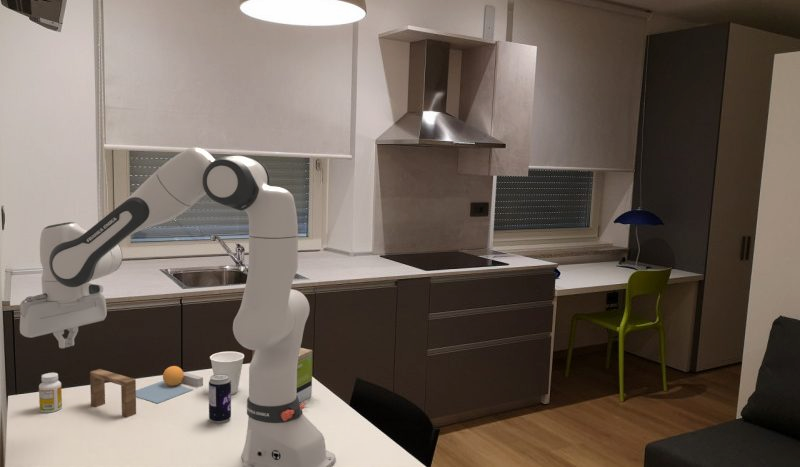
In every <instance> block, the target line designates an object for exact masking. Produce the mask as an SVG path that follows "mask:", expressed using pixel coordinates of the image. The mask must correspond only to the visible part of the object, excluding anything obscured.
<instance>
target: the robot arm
mask: <svg viewBox="0 0 800 467" xmlns="http://www.w3.org/2000/svg"><path fill="white" fill-rule="evenodd" d="M270 183H271V176H270V173H269V171H268V169H267V167H266V166H265V164H263V163H262V162H261V161H260V160H258V159H256V158H253V157H249V156H247V157H246V156H243V155H229V156H228V155H227V156H220V157H217V158H214V157H213V155H212V154H211V153H210V152H208V151H207V150H205V149H203V148H201V147H198V146H197V147H196V146H194V147H188V148H186V149H184V150H182V152H180V153H177V155H175V156H173V157H172V158H171V159H169V160H168V161H166V162H165V163H164V164H163V165H162V166H160V167H159V168H158V169H157V170H156V171H155V172H153V173H152V174H151V175H150V176H149V177H148V178H147V179H146V180H145V181H144V182H143V183H142V184H141V185H140V186H139V187H137V189H136V190H135V191H134V192H132V194H130V195H129V196H128V197H127V198H126V199H125V200H124V201H123V202H122V203H121V204H120V205H119V206H117V207H116V208H114V209H113V210H112V211H111V212H109V213H108V214H107V215H106V216H104V217H103V218H102V219H100V220H99V221H98V222H97V223H95V225H93V226H92V227H90V228H89V229H88V230H86V229H84V228H83V227H81V226H80V225H79V223H76V222H73V221H69V222H63V223H56V224H51V225H47V226H45V227H44V228H43V229H42V230H41V233H40V238H39V259H40V264H41V267H42V276H41V290H42V291H41V292H42V293H41V294H36V295H31V296H27V297H25V299H23V300H22V301H21V302H20V305H19V312H20V318H19V333H20V335H22V336H23V337H24V338H25V337H26V338H31V339H32V338H36V337H40V336H45V335H48V334H53V336H54V338H56V341H58V347H59V349H65V348H69V347H73V346H75V338H76V336H77V334H78V332H79V327H82V326H85V325H90V324H95V323H98V322H102V321H105V319H106V318H107V314H108V312H107V311H108V310H107V302H106V297H105V295H104V294H102V293H103V292H104V285H103V284H101V283H96V282H91V281H94V280H97V279H100V278H104V277H106V276H108V275H111V274H113V273H115V272H116V271H117V270H118V269H120V267H121V264H122V263H123V262H122V261H123V252H122V251H123V250H122V248H121V246H120V244H121V243H122V242H123V241H125V239H127V238H128V237H130V236H131V235H134V234H135V233H137V232H140V231H142V230H146V229H149V228H151V227H155V226H158V225H161V224H165V223H167V222H170V221H172V220H173V219H176V218H177V217H179V216H180V215H182V214H183V213H185V212H186V211H187V210H189V209H190V208H192V206H194V204H195V203H197V202H198V201H199V200H201V198H202V197H204V196H205V195H207V196H208V198H210V199H211V200H212V201H214V202H215V203H218V204H220V205H222V206H225V207H229V208H232V209H233V210H234V209H235V210H237V211H241V212H243V211H245V212H246V214H247V217H248V269H247V278H246V283H245V287H244V291H243V294H242V300H241V303H240V307H239V309H238V311H237V314H236V316H235V317H234V319H233V322H232V332H233V335H234V338H235V339H236V341H237V342H238V344H240V345H241V346H242V347H243V348H245V349H246V350H251V351H253V350H255V353H254V356H253V359H251V361H250V363H249V366H248V397H247V400H246V414H247V416H248V418H247V419H248V420H247V421H248V422H247V429H246V435H245V442H244V446H243V449H242V453H241V458H242V463H243V464H242V467H332V466H333V465H334V464H335V462H336V454H335V453H333V452H332V451H330V450H327V449H326V441H325V438H324V435H323V432H321V430H319V429H318V427H316V426H315V425H314V424H313V422H311V420H309V418H307V417H306V416H305V414H304V411H303V409H305V408H306V407H307V406H306V404H307V403H306V402H303V403H302V404H301V403H300V401H299V398H298V396H297V364H298V357H299V352H300V348H302V347H301V345H302V341H303V335H304V330H305V326H306V324H307V323H306V322H307V320H308V317H309V315H310V312H311V311H310V309H311V308H310V303H309V301H308V298H307V297H306V296H305V294H303V293H302V292H301V291H299V290H296V289H292V286H293V281H294V279H295V276H296V274H297V271H298V267H299V266H298V265H299V264H298V262H299V260H298V258H299V253H298V252H299V250H298V249H299V227H298V226H299V225H298V216H297V215H298V214H297V208H296V203H295V202H296V201H295V198H294V195H293V194H292V193H291V192H290V191H289V190H287V189H286V188H283V187H279V186H271V185H270ZM65 330H67V331H68V335H67V337H64V336H63V335H65Z"/></svg>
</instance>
